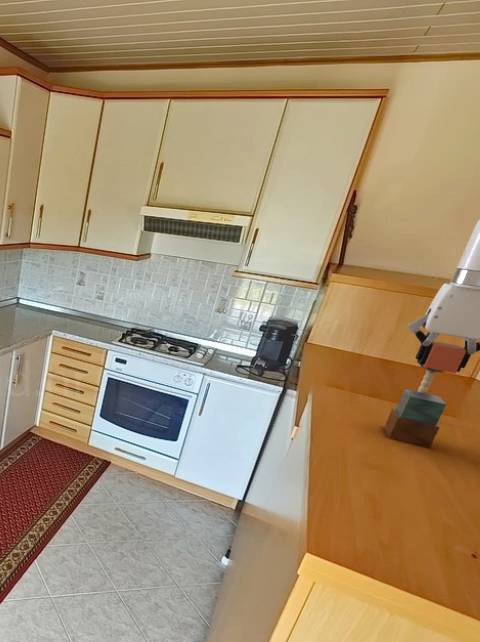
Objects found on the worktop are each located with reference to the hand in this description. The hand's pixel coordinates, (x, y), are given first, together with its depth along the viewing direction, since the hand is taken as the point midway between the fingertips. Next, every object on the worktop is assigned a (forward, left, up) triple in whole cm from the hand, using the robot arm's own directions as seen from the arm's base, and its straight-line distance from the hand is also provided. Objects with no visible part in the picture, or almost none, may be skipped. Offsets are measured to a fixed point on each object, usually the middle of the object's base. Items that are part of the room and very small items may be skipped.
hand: (437, 365), depth 103 cm
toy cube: (0, 0, 0) cm, 0 cm away
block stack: (0, 0, -17) cm, 17 cm away
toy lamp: (-4, -20, -17) cm, 27 cm away
